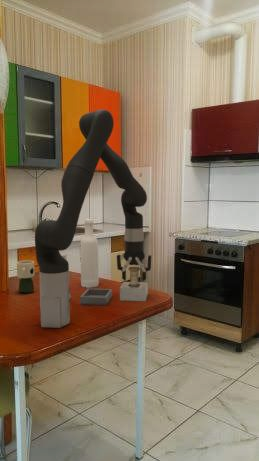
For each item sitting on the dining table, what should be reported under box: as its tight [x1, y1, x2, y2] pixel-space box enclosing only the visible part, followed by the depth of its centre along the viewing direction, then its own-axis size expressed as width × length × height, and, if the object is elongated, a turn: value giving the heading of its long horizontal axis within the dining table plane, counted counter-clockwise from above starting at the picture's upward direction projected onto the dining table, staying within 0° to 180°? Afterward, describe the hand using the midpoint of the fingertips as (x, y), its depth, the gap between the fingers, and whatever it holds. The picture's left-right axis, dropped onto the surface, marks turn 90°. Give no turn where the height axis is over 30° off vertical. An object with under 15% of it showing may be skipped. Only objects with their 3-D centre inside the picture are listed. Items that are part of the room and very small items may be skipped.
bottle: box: [79, 218, 100, 289], centre depth 167 cm, size 8×8×30 cm
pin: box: [128, 266, 141, 287], centre depth 149 cm, size 4×4×12 cm
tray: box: [79, 288, 113, 306], centre depth 145 cm, size 12×10×3 cm
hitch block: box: [119, 281, 149, 302], centre depth 149 cm, size 10×10×5 cm
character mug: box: [16, 260, 36, 294], centre depth 157 cm, size 11×7×13 cm, turn 5°
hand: (134, 280), depth 149 cm, fingers open, 7 cm apart
